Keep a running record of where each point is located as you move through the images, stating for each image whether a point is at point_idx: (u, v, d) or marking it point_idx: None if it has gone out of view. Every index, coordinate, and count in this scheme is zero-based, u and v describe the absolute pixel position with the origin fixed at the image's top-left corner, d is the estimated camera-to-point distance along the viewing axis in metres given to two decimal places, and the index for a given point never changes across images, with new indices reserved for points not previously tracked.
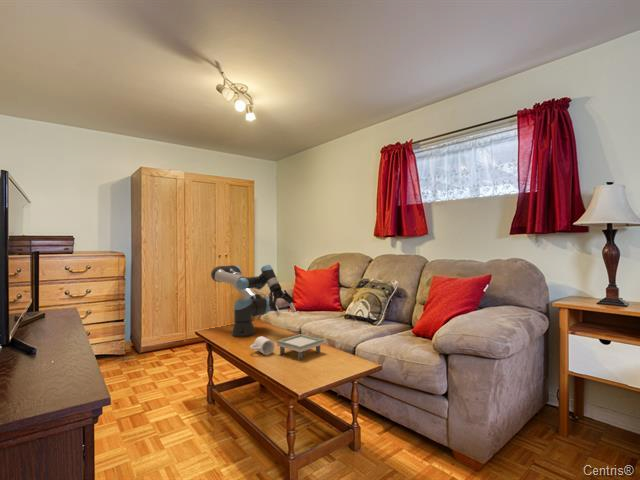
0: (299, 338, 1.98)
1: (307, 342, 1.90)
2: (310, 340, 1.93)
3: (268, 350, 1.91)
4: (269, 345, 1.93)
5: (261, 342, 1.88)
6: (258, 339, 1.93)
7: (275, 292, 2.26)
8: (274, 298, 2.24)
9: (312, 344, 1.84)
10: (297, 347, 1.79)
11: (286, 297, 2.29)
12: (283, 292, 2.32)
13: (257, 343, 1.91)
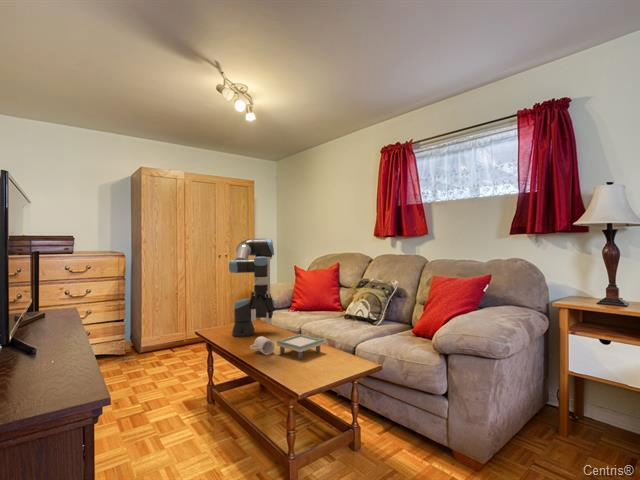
0: (299, 338, 1.98)
1: (307, 342, 1.90)
2: (310, 340, 1.93)
3: (268, 350, 1.91)
4: (269, 345, 1.93)
5: (261, 342, 1.88)
6: (258, 339, 1.93)
7: (256, 294, 1.92)
8: None
9: (312, 344, 1.84)
10: (297, 347, 1.79)
11: (264, 304, 1.87)
12: (265, 296, 1.88)
13: (257, 343, 1.91)
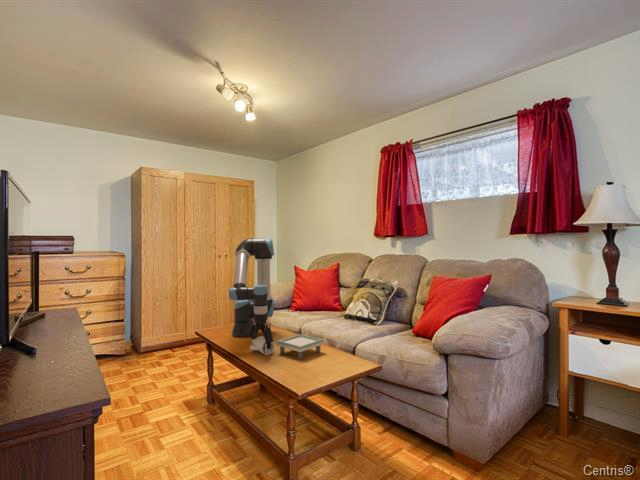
0: (299, 338, 1.98)
1: (307, 342, 1.90)
2: (310, 340, 1.93)
3: None
4: None
5: (261, 342, 1.88)
6: (258, 339, 1.93)
7: (256, 322, 1.92)
8: None
9: (312, 344, 1.84)
10: (297, 347, 1.79)
11: (263, 334, 1.87)
12: (265, 325, 1.88)
13: (257, 343, 1.91)
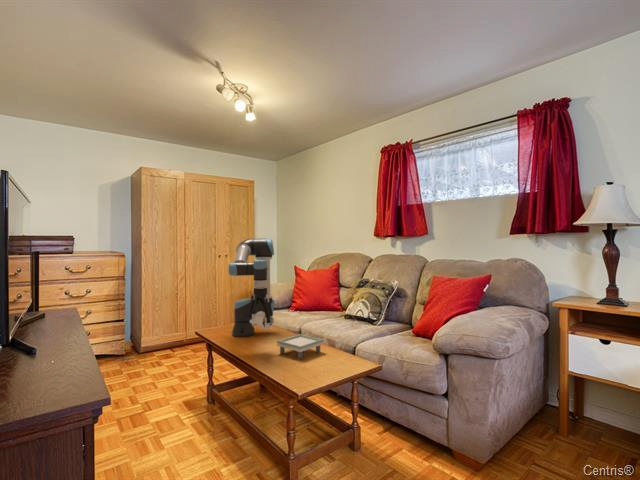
0: (299, 338, 1.98)
1: (307, 342, 1.90)
2: (310, 340, 1.93)
3: None
4: None
5: (261, 316, 1.89)
6: (258, 314, 1.93)
7: (256, 297, 1.92)
8: None
9: (312, 344, 1.84)
10: (297, 347, 1.79)
11: (263, 308, 1.88)
12: (265, 300, 1.88)
13: (257, 317, 1.91)
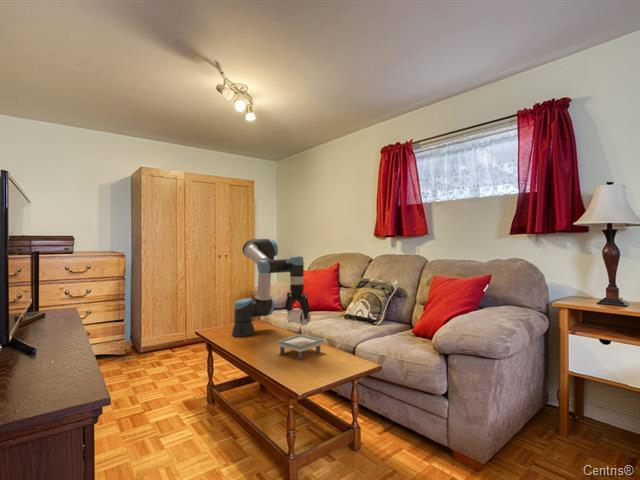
0: (299, 338, 1.98)
1: (307, 342, 1.90)
2: (310, 340, 1.93)
3: None
4: None
5: (298, 313, 1.87)
6: (294, 310, 1.92)
7: (292, 293, 1.91)
8: None
9: (312, 344, 1.84)
10: (297, 347, 1.79)
11: (300, 304, 1.87)
12: (302, 296, 1.87)
13: (293, 314, 1.90)
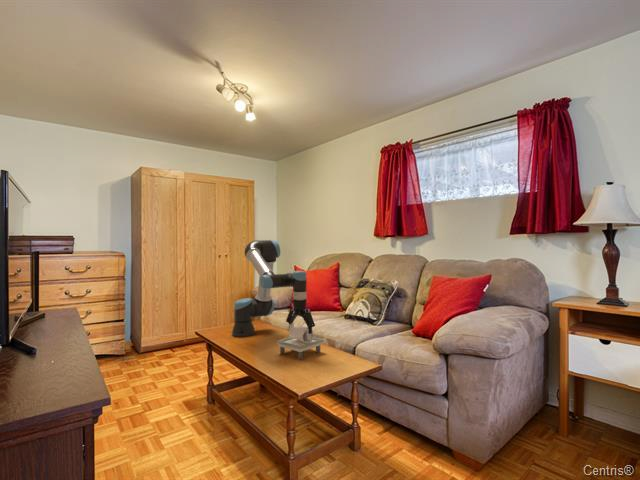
0: None
1: None
2: None
3: None
4: None
5: (301, 331, 1.88)
6: (297, 328, 1.92)
7: (295, 308, 1.91)
8: None
9: (312, 344, 1.84)
10: (297, 347, 1.79)
11: (304, 319, 1.86)
12: (305, 311, 1.87)
13: (296, 332, 1.90)
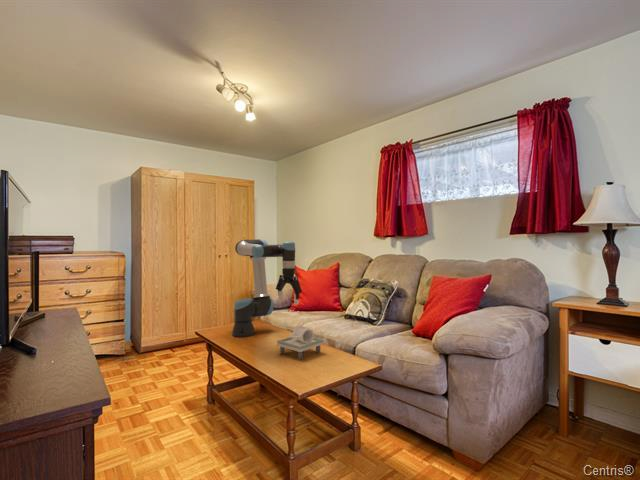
0: None
1: None
2: None
3: (307, 339, 1.91)
4: (308, 334, 1.93)
5: (301, 331, 1.88)
6: (297, 328, 1.92)
7: (284, 276, 2.06)
8: None
9: (312, 344, 1.84)
10: (297, 347, 1.79)
11: (292, 286, 2.01)
12: (293, 278, 2.02)
13: (296, 332, 1.90)
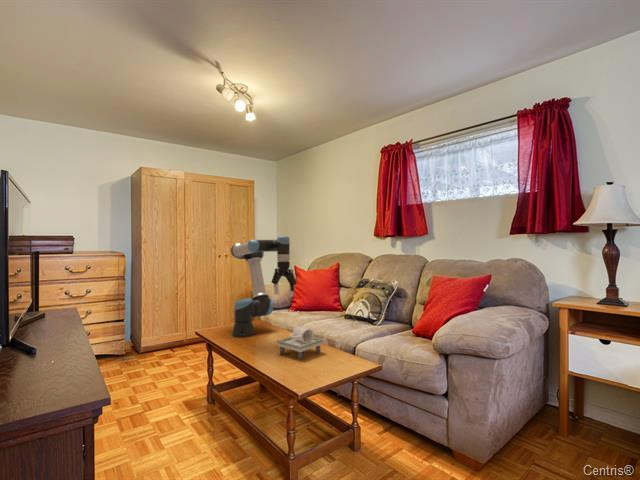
0: None
1: None
2: None
3: (307, 339, 1.91)
4: (308, 334, 1.93)
5: (301, 331, 1.88)
6: (297, 328, 1.92)
7: (279, 270, 2.13)
8: None
9: (312, 344, 1.84)
10: (297, 347, 1.79)
11: (287, 278, 2.09)
12: (288, 271, 2.09)
13: (296, 332, 1.90)
